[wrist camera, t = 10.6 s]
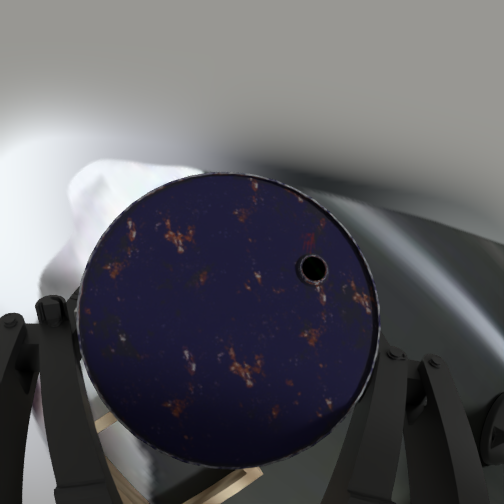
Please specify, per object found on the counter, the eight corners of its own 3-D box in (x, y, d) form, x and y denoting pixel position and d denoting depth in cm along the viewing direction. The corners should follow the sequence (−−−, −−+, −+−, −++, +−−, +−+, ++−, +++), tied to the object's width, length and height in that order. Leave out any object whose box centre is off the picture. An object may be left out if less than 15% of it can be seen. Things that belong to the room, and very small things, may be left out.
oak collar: (172, 369, 31) (168, 369, 28) (257, 464, 29) (263, 473, 25) (79, 433, 26) (67, 439, 23) (162, 523, 23) (158, 536, 20)
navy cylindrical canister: (189, 428, 19) (165, 516, 6) (133, 316, 22) (42, 236, 8) (301, 370, 22) (426, 360, 9) (243, 265, 25) (289, 140, 11)
